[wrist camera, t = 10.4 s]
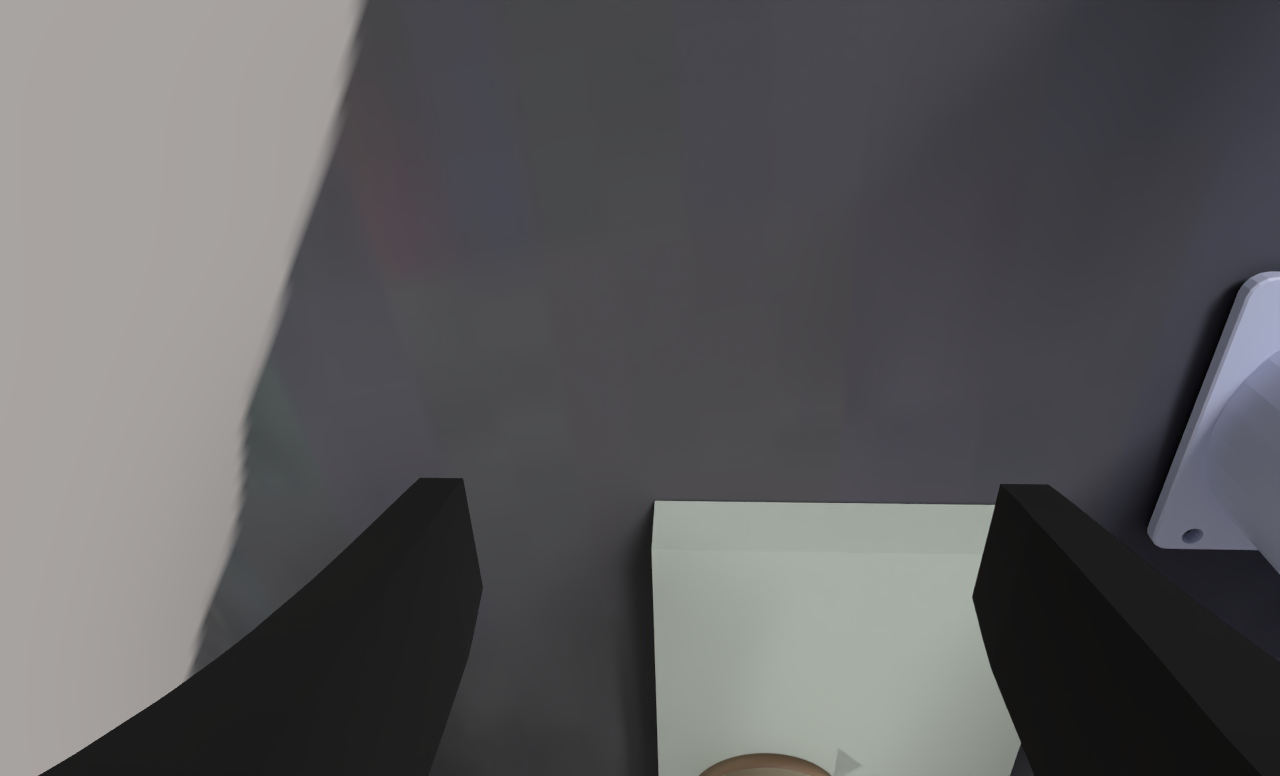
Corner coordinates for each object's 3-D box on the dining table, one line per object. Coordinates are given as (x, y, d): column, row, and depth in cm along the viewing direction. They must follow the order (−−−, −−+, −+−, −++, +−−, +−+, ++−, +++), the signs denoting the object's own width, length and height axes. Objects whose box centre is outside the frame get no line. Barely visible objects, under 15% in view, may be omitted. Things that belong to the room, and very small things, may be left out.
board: (1054, 505, 22) (1084, 556, 20) (946, 865, 31) (960, 920, 30) (654, 500, 23) (651, 549, 21) (664, 853, 32) (662, 907, 30)
